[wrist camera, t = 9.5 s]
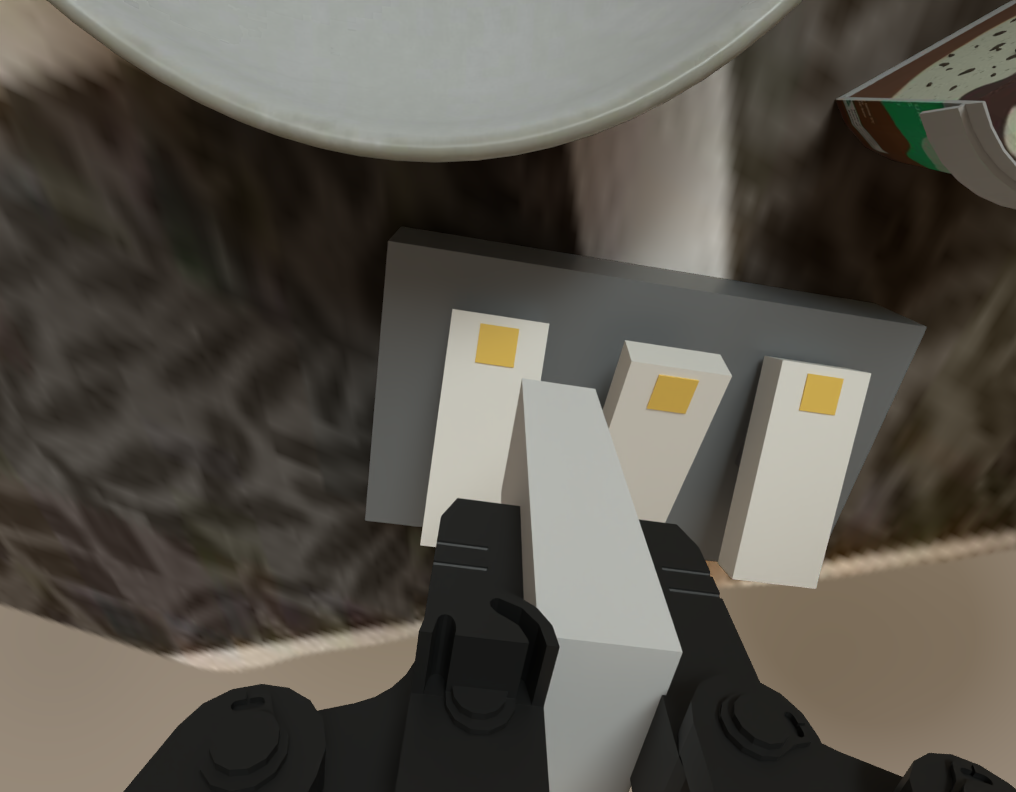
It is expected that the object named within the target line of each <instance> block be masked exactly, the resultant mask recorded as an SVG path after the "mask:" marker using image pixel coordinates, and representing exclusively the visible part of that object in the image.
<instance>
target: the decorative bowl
mask: <svg viewBox="0 0 1016 792" xmlns="http://www.w3.org/2000/svg"><path fill="white" fill-rule="evenodd" d="M47 1H48V2H50V3H51V4H52V5H53V6H54V7H56V8H57V9H58V10H59V11H60V12H62V13H63V14H64V15H65V16H66V17H68V18H69V19H70V20H71V21H72V22H74V23H75V24H76V25H78V26H79V27H80V28H82V29H83V30H84V31H86V32H87V33H89V34H90V35H91V36H93V37H94V38H95V39H97V40H98V41H99V42H101V43H102V44H103V45H105V46H106V47H108V48H109V49H110V50H112V51H113V52H114V53H116V54H117V55H119V56H120V57H122V58H123V59H125V60H127V61H128V62H130V63H131V64H133V65H134V66H136V67H137V68H139V69H141V70H142V71H144V72H145V73H147V74H148V75H150V76H152V77H153V78H155V79H156V80H158V81H160V82H161V83H163V84H165V85H167V86H169V87H170V88H172V89H174V90H176V91H178V92H180V93H181V94H183V95H185V96H187V97H189V98H191V99H192V100H194V101H196V102H198V103H200V104H202V105H204V106H206V107H209V108H211V109H213V110H215V111H217V112H219V113H222V114H224V115H226V116H228V117H230V118H232V119H235V120H237V121H239V122H242V123H244V124H247V125H250V126H252V127H255V128H258V129H260V130H263V131H266V132H268V133H271V134H274V135H277V136H279V137H283V138H286V139H289V140H293V141H296V142H300V143H303V144H307V145H310V146H314V147H317V148H321V149H326V150H331V151H336V152H341V153H346V154H351V155H355V156H361V157H369V158H378V159H386V160H394V161H412V162H458V161H478V160H485V159H493V158H500V157H508V156H515V155H520V154H524V153H529V152H534V151H538V150H543V149H547V148H552V147H556V146H559V145H562V144H565V143H568V142H572V141H575V140H578V139H581V138H585V137H588V136H591V135H594V134H596V133H599V132H601V131H604V130H606V129H609V128H611V127H614V126H616V125H619V124H621V123H624V122H626V121H629V120H631V119H633V118H635V117H637V116H639V115H641V114H643V113H645V112H647V111H649V110H651V109H653V108H655V107H657V106H659V105H661V104H663V103H665V102H667V101H669V100H670V99H672V98H674V97H675V96H677V95H679V94H681V93H682V92H684V91H686V90H687V89H689V88H691V87H692V86H694V85H696V84H697V83H699V82H701V81H702V80H704V79H705V78H707V77H708V76H710V75H711V74H713V73H714V72H715V71H717V70H718V69H720V68H721V67H722V66H724V65H725V64H727V63H728V62H730V61H731V60H732V59H734V58H735V57H737V56H738V55H740V54H741V53H742V52H743V51H745V50H746V49H747V48H748V47H750V46H751V45H752V44H753V43H754V42H756V41H757V40H758V39H759V38H761V37H762V36H763V35H764V34H766V33H767V32H768V31H769V30H770V29H772V28H773V27H774V26H775V25H777V24H778V23H779V22H780V21H781V20H782V19H783V18H784V17H785V16H786V15H787V14H788V13H790V12H791V11H792V10H793V9H794V8H795V7H796V6H797V5H798V4H799V3H800V2H801V1H802V0H47Z"/></svg>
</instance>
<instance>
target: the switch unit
mask: <svg viewBox="0 0 1016 792" xmlns="http://www.w3.org/2000/svg"><path fill="white" fill-rule="evenodd" d="M452 309H456V310H463V311H469V312H476V313H483V314H489V315H496V316H503V317H509V318H516V319H522V320H529V321H536V322H542V323H549V330H548V336H547V343H546V349H545V356H544V362H543V369H542V375H541V381H544V382H551V383H558V384H565V385H572V386H579V387H586V388H592V389H595V390H596V393H597V396H598V399H599V402H600V405H601V408H602V411H603V407H604V404H605V401H606V398H607V395H608V392H609V389H610V386H611V382H612V379H613V376H614V373H615V370H616V367H617V364H618V361H619V358H620V354H621V351H622V348H623V345H624V342H625V340H627V341H634V342H641V343H647V344H654V345H661V346H667V347H674V348H681V349H687V350H694V351H700V352H707V353H714V354H720V355H721V357H722V359H723V360H724V362H725V364H726V366H727V368H728V369H729V371H730V373H731V375H732V377H731V380H730V382H729V384H728V386H727V388H726V390H725V393H724V395H723V397H722V399H721V401H720V404H719V406H718V408H717V410H716V412H715V415H714V417H713V419H712V421H711V423H710V426H709V428H708V430H707V432H706V434H705V436H704V439H703V441H702V443H701V445H700V447H699V450H698V452H697V454H696V456H695V458H694V461H693V463H692V465H691V467H690V469H689V472H688V474H687V476H686V478H685V480H684V482H683V485H682V487H681V489H680V491H679V493H678V496H677V498H676V500H675V502H674V504H673V507H672V509H671V511H670V513H669V515H668V517H667V520H666V522H665V523H670V524H677V525H678V526H679V527H680V528H681V529H682V530H683V531H684V532H685V533H686V534H687V535H688V536H689V537H690V538H691V539H692V540H693V541H694V542H695V544H696V545H697V546H698V547H699V548H700V550H701V553H702V555H703V557H704V559H705V560H708V561H716V562H718V560H719V555H720V551H721V546H722V542H723V537H724V533H725V529H726V524H727V520H728V515H729V511H730V506H731V502H732V498H733V493H734V489H735V484H736V480H737V475H738V471H739V467H740V462H741V458H742V453H743V449H744V444H745V440H746V436H747V431H748V427H749V422H750V418H751V413H752V409H753V405H754V400H755V396H756V391H757V387H758V382H759V378H760V374H761V369H762V365H763V360H764V356H770V357H776V358H783V359H789V360H796V361H803V362H809V363H816V364H823V365H829V366H836V367H842V368H849V369H853V370H858V371H863V372H867V373H871V377H870V381H869V385H868V389H867V393H866V396H865V400H864V404H863V408H862V412H861V416H860V420H859V424H858V428H857V431H856V435H855V439H854V443H853V447H852V451H851V455H850V459H849V463H848V466H847V470H846V474H845V478H844V482H843V486H842V490H841V494H840V498H839V501H838V505H837V509H836V513H835V517H834V521H833V525H832V529H831V532H830V535H831V533H832V531H833V528H834V526H835V524H836V522H837V520H838V518H839V515H840V513H841V511H842V509H843V507H844V505H845V503H846V500H847V498H848V496H849V494H850V492H851V490H852V487H853V485H854V483H855V481H856V479H857V477H858V475H859V472H860V470H861V468H862V466H863V464H864V462H865V460H866V457H867V455H868V453H869V451H870V449H871V447H872V444H873V442H874V440H875V438H876V436H877V434H878V432H879V429H880V427H881V425H882V423H883V421H884V419H885V416H886V414H887V412H888V410H889V408H890V406H891V404H892V401H893V399H894V397H895V395H896V393H897V391H898V389H899V386H900V384H901V382H902V380H903V378H904V376H905V373H906V371H907V369H908V367H909V365H910V363H911V361H912V358H913V356H914V354H915V352H916V350H917V348H918V345H919V343H920V341H921V339H922V337H923V335H924V333H925V330H926V328H927V327H926V326H924V325H922V324H919V323H917V322H915V321H913V320H911V319H908V318H906V317H904V316H902V315H899V314H897V313H895V312H893V311H891V310H888V309H886V308H884V307H882V306H880V305H877V304H875V303H870V302H864V301H858V300H852V299H845V298H839V297H833V296H827V295H821V294H815V293H809V292H802V291H796V290H790V289H784V288H778V287H772V286H765V285H759V284H753V283H747V282H741V281H735V280H728V279H722V278H716V277H710V276H704V275H698V274H692V273H685V272H679V271H673V270H667V269H661V268H655V267H648V266H642V265H636V264H630V263H624V262H618V261H611V260H605V259H599V258H593V257H587V256H581V255H575V254H568V253H562V252H556V251H550V250H544V249H538V248H531V247H525V246H519V245H513V244H507V243H501V242H494V241H488V240H482V239H476V238H470V237H464V236H458V235H451V234H445V233H439V232H433V231H427V230H421V229H414V228H408V227H402V226H401V227H400V228H399V229H398V230H397V232H396V233H395V234H394V235H393V236H392V237H391V238H390V239H389V240H388V247H387V260H386V272H385V284H384V296H383V308H382V321H381V333H380V345H379V357H378V369H377V382H376V394H375V406H374V418H373V430H372V443H371V455H370V467H369V479H368V491H367V504H366V516H365V521H374V522H383V523H391V524H400V525H408V526H417V527H423V521H424V514H425V507H426V499H427V492H428V485H429V477H430V470H431V463H432V455H433V448H434V441H435V433H436V426H437V419H438V411H439V404H440V397H441V389H442V382H443V375H444V367H445V360H446V353H447V345H448V338H449V331H450V323H451V316H452ZM829 537H830V536H829Z"/></svg>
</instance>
